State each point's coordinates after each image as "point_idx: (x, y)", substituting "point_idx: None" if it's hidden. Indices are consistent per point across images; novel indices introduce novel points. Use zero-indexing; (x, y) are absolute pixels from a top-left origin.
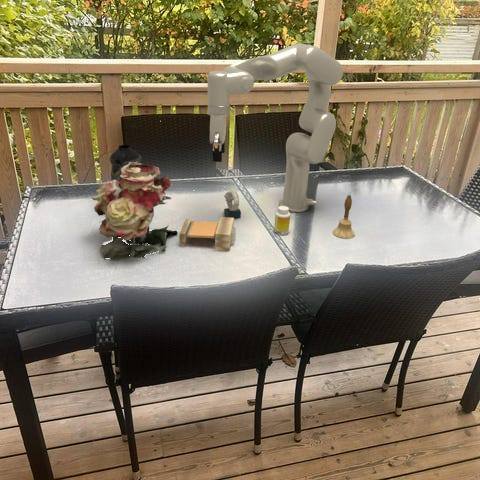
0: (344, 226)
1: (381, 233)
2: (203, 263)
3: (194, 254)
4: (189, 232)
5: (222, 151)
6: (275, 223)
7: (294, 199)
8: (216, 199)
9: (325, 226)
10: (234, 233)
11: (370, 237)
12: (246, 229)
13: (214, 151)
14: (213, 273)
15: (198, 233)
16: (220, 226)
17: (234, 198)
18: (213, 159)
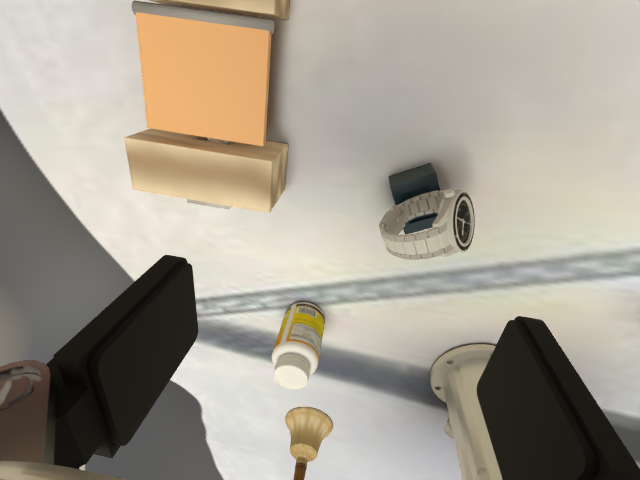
0: (291, 442)
1: (315, 470)
2: (74, 85)
3: (115, 48)
4: (158, 15)
5: (485, 390)
6: (292, 321)
7: (450, 401)
8: (618, 134)
9: (343, 404)
10: (188, 201)
11: None
12: (316, 231)
13: (74, 368)
14: (37, 118)
15: (156, 61)
16: (187, 158)
17: (388, 238)
18: (153, 273)
